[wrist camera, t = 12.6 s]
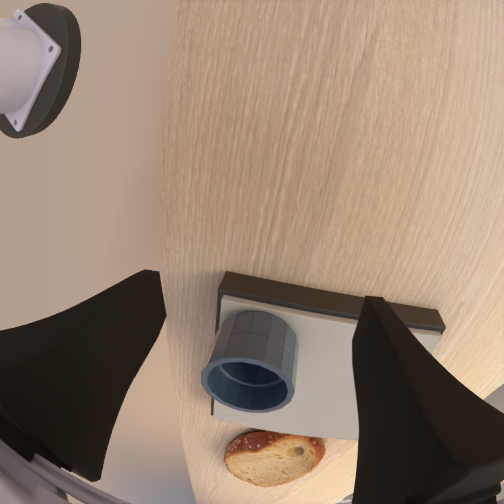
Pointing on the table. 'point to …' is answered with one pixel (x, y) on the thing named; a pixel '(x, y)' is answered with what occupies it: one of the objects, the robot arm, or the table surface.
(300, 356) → the scale
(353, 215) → the table surface
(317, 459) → the slice of bread
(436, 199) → the table surface
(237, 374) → the cup
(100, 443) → the robot arm
